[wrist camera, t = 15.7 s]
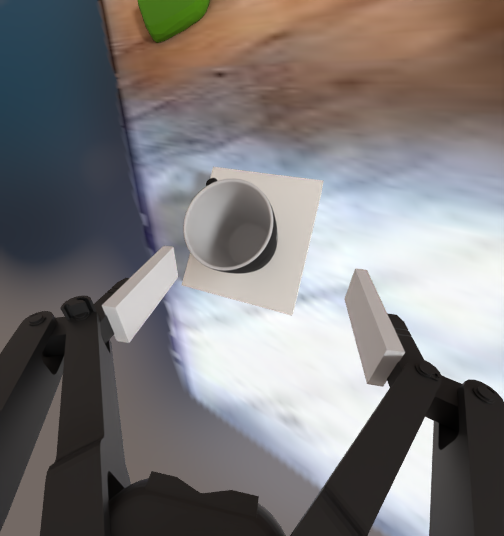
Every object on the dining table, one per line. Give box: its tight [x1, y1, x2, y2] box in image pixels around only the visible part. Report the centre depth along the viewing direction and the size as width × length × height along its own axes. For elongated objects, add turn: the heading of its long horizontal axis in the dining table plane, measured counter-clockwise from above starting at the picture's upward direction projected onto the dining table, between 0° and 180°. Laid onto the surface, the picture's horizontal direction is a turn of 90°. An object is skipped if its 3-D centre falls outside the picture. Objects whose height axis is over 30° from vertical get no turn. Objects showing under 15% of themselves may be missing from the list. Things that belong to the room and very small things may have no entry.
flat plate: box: [182, 167, 323, 315], centre depth 33 cm, size 18×16×4 cm
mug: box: [183, 178, 278, 274], centre depth 27 cm, size 12×9×10 cm
